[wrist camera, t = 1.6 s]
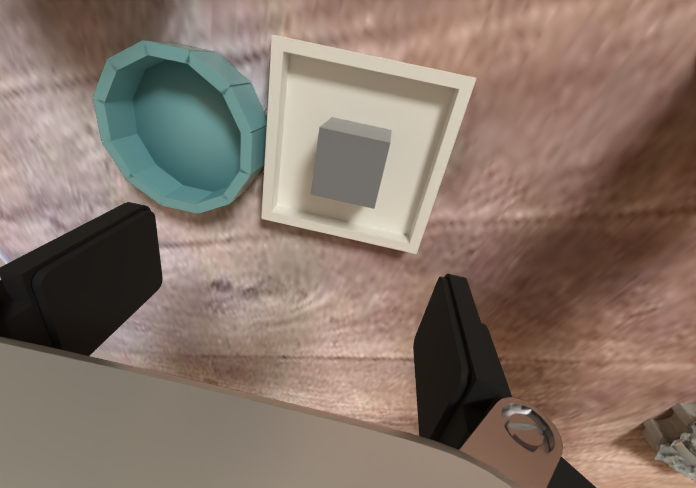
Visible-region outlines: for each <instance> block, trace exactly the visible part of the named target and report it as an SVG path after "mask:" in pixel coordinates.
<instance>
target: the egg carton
mask: <svg viewBox="0 0 696 488" xmlns="http://www.w3.org/2000/svg"><path fill="white" fill-rule="evenodd" d="M671 408H672V409H673V411H674V413H673V415H672V416H670V417H669V418H667V419H662V420H655V419H649V420H647V421H646V422H644V423H643V424H644V426H645V429H644V430H643V431H642V434H643V436H644V437H645V439H646V440H647V442H648V443H649V445H650V446H651V448H652V449H653V450H654V452H655V453H657V454H656V457H655V460H658V461H661V462H664V463H665V464H666V465H667V466H670V467H671V468H672V469H674V470H675V471H676V472H680V473H681V474H683V475H685V476H687V477H689V478H691V479H692V480H694V481H695V482H696V403H693V404H683V403H678V404H676V405H674V406H673V407H671ZM680 441H682V443H683V444H684V445H685V446H681V445H680V446H675V445H676V443H678V442H680Z"/></svg>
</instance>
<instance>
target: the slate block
mask: <svg viewBox="0 0 696 488" xmlns="http://www.w3.org/2000/svg"><path fill="white" fill-rule="evenodd" d="M391 132H392V130H390V129H385V128H381V127H376V126H371V125H367V124H362V123H358V122H353V121H349V120H344V119H339V118H335V117H331V118H330V119H329V120H328V121H326V122H325V123H324V124H323V125H322V126H320V127H319V134H318V141H317V149H316V156H315V164H314V171H313V179H312V186H311V193H310V194H311V195H315V196H319V197H324V198H328V199H333V200H337V201H342V202H346V203H351V204H355V205H359V206H364V207H368V208H373V209H374V208H375V204H376V200H377V196H378V192H379V188H380V184H381V180H382V176H383V172H384V168H385V163H386V159H387V155H388V151H389V147H390V143H391Z"/></svg>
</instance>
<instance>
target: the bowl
mask: <svg viewBox="0 0 696 488" xmlns="http://www.w3.org/2000/svg"><path fill="white" fill-rule="evenodd" d="M250 83H251V82H250V81H249V80H247V79H246V78H245V77H244V76H243V75H242V74H241V73H240V72H238V71H237V70H236V69H235V68H234V67H233V66H232V65H231V64H229V63H228V62H227V61H226V60H225V59H224V58H223V57H222V56H220V55H219V54H218V53H217V52H214V51H210V50H205V49H201V48H196V47H191V46H187V45H182V44H177V43H168V42H157V41H146V40H144V41H143V40H142V41H140V42H138V43H136V44H135V45H133V46H131V47H129V48H127V49H125V50H123V51H121V52H119V53H117V54H115V55H113V56H111V57H110V58H108V60H106V63H105V65H104V68H103V71H102V74H101V76H100V79H99V82H98V84H97V87H96V90H95V93H94V95H93V97H94V98H93V101H94V107H95V112H96V117H97V122H98V128H99V133H100V138H101V141H103V142H102V144H103V145H104V147H105V148H106V150H107V151H108V153H109V154H110V156H111V157H112V159H113V160H114V162H115V163H116V165H117V167H118V168H119V170H120V171H121V173H122V174H123V176H124V177H125V179H128V180H127V181H128V182H130V183H131V184H132V185H134V186H135V187H137V188H138V189H139V190H141V191H142V192H143V193H145V194H146V195H148V196H149V197H150V198H152V199H153V200H154V201H156V202H157V203H158V204H160V205H161V204H162V206H166V207H170V208H175V209H179V210H183V211H188V212H192V213H196V214H199V213H202V212H206V211H209V210H212V209H215V208H218V207H221V206H225V205H228V204H230V203H231V202H233V201H234V200H235V199H236V198H237V197H239V196H240V195H241V194H242V193H243V192H245V191H246V190H247V189H248V188H249V187H250V185H251V184H252V183H253V181H254V180H255V178H256V177H257V176H258V174H259V173H260V172H261V170H262V169H263V167H264V166H265V149H266V131H267V118H266V116H265V114H264V111H263V109H262V107H261V104H260V102H259V100H258V97H257V95H256V93H255V90H254V88H253V86H252V84H250Z"/></svg>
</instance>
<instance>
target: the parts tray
mask: <svg viewBox="0 0 696 488" xmlns="http://www.w3.org/2000/svg"><path fill="white" fill-rule="evenodd" d="M475 81H476V78H474V77H469V76H465V75H460V74H455V73H451V72H446V71H441V70H437V69H432V68H427V67H422V66H418V65H413V64H408V63H404V62H399V61H394V60H390V59H385V58H380V57H376V56H371V55H366V54H362V53H357V52H352V51H347V50H343V49H338V48H333V47H329V46H324V45H319V44H315V43H310V42H305V41H301V40H296V39H291V38H286V37H282V36H277V35H272V44H271V62H270V79H269V96H268V114H267V131H266V149H265V166H264V183H263V201H262V218H261V219H265V220H269V221H273V222H278V223H282V224H287V225H291V226H295V227H300V228H304V229H309V230H313V231H317V232H322V233H326V234H331V235H335V236H339V237H344V238H348V239H353V240H357V241H361V242H366V243H370V244H374V245H379V246H383V247H388V248H392V249H396V250H401V251H405V252H410V253H414V254H417V251H418V248H419V245H420V242H421V239H422V236H423V233H424V230H425V228H426V225H427V222H428V219H429V216H430V213H431V210H432V207H433V204H434V201H435V198H436V195H437V192H438V189H439V186H440V184H441V181H442V178H443V175H444V172H445V169H446V166H447V163H448V160H449V157H450V154H451V151H452V148H453V145H454V142H455V140H456V137H457V134H458V131H459V128H460V125H461V122H462V119H463V116H464V113H465V110H466V107H467V104H468V101H469V98H470V95H471V93H472V90H473V87H474V84H475ZM331 117H335V118H339V119H344V120H349V121H353V122H358V123H362V124H367V125H371V126H376V127H381V128H385V129H390V130H392V132H391V143H390V147H389V151H388V155H387V159H386V163H385V168H384V172H383V176H382V180H381V184H380V188H379V192H378V196H377V200H376V204H375V208H374V209H373V208H368V207H364V206H359V205H355V204H351V203H346V202H342V201H337V200H333V199H328V198H324V197H319V196H315V195H311V194H310V193H311V186H312V179H313V171H314V164H315V156H316V149H317V141H318V134H319V127H320V126H322V125H323V124H324V123H325V122H326V121H328V120H329V119H330V118H331Z"/></svg>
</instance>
